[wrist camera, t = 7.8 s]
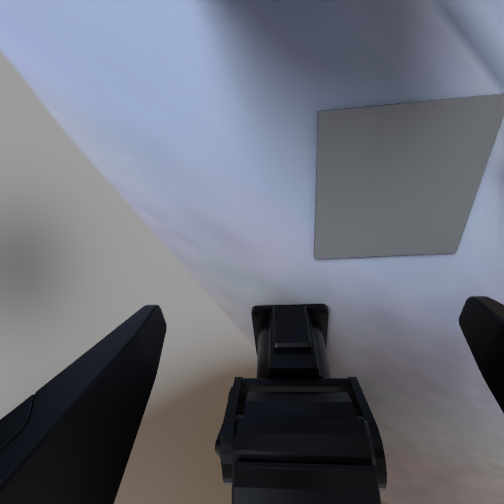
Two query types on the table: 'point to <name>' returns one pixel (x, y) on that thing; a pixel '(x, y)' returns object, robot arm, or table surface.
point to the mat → (401, 175)
